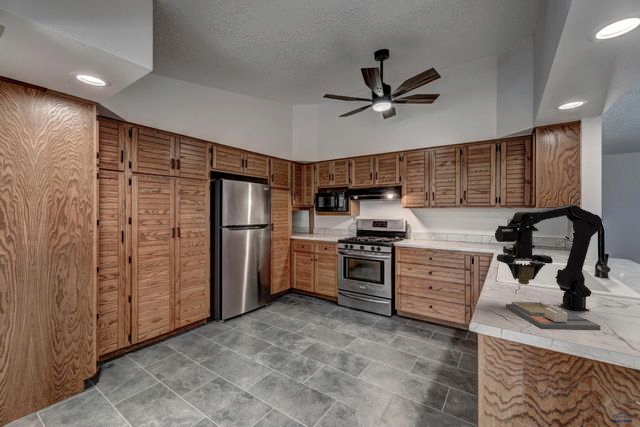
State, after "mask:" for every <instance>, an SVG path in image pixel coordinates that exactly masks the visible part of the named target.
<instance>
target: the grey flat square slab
mask: <svg viewBox="0 0 640 427" xmlns="http://www.w3.org/2000/svg"><path fill="white" fill-rule="evenodd" d="M505 304H506V305H505V307H506V309H508V310H509V311H512V312H513V313H515V314H517V315H518V316H520V317H522V318H523V319H525V320H527V321H528V322H530V323H532V324H534V325H536V327H539V328H540V329H547V330H548V329H550V330H551V329H552V330H553V329H554V330H555V329H556V330H590V331H591V330H592V331H593V330H596V331H600V330H601V325H600V324H598V323H596V322H594V321H591V320H589V319H588V318H585V317H583V316H580V315H578V314H576V313H574V312H571V311H569V310H567V309H564V308H562V307H560V306H558V305H556V304H552V305H553V306H555V307H558V308H560V309H562V310H563V311H564V312H566V313H567V322H555V321H553V320H551V319H549V318H547V317H545V316H532V315H530V314H528V313H526V312H524V311H522V310H520V309H519V308H517V307H515V306H513V305H511V304H512V303H505Z"/></svg>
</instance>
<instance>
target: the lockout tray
mask: <svg viewBox="0 0 640 427" xmlns="http://www.w3.org/2000/svg"><path fill="white" fill-rule="evenodd" d="M510 304H511V305H513V306H515V307H517V308H519V309H520V310H522V311H524V312H526V313H528V314H530V315H532V316H544V308H548V305H549V304H546V303H543V302H542V301H511V303H510Z"/></svg>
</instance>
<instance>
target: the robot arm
mask: <svg viewBox="0 0 640 427" xmlns="http://www.w3.org/2000/svg"><path fill="white" fill-rule="evenodd" d="M561 217H566V219H568V221H570V222H572V229H573V232H574V236H573V237H574V238H573V241H572V244H571V247H570V251H569V255H568V259H567V261H566V265H565V267H564V268H562V269H558V270H557V273H556V276H555V279H556V280H555V281H556V284H557V285H558V287H559V289H560V291H562V292H563V296H562V303H560V306H562V307H564V308H566V309H568V310H571V311H576V312H577V311H580V312H581V311H582V312H589V311H590V309H589V308H586V307H587V297H591V295H592V290H591V289H590V288H588V287H587V285H586V284H585V282H586V277H585V275H584V273H583V269H584V265H585V261H586V257H587V255H588V250H589V246H590V244H591V240H592V237H593V236H594V235H596V234H597V233H598V232H599V230H600V228H601V226H602V224H603V219H602V218H601V217H600V216H599V214H597V213H596V214H595V213H593V212H591V211H588V210H585V209H583V208H581V207H579V206H578V205H576V204H564V205H561V206H555V207H552V208H547V209H542V210H536V211H516V212H515V213H514V214H513V217H512V218H511V220H510V221H509V223H507V225H498V226H497V229H496V230H495V233H494V238H495V240H496V242H498V243H513V245H512V247H510V246H509V245H504V246H502V254H501V253H499V254H497V255H496V261H497V262H500V263H503V264H506V265H507V267H508V268H509V270H510V272H511V275H512V277H513V279H514V280H518V279H517V272H518V263H517V262H529V263H528V264H530V265H532V267H534V266H535V270H534V276H533V278H532V279H531V280H532V281H534V280H535V278H536V277H537V275H538V274H539V272H540V271H541V270H542V268H543V267H544V266H546V265H547V264H553V261H554V259H553V258H552V256H550V255H546V254H534V252H533V249H535V248H536V246H535V245H534V243H533V240H534V239H533V233H534V232H539V228H536V227H535V225H537V224H539V223H540V222H543V221H544V220H545V221H546V220H550V219H556V218H561Z"/></svg>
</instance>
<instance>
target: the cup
mask: <svg viewBox="0 0 640 427" xmlns="http://www.w3.org/2000/svg"><path fill="white" fill-rule="evenodd" d="M517 264H518V272H517V279H516V280H517V281H518V283H519V284H520V285H527V286H528V285H529V284H530V281H531V280H532V278H533V276H534V270H535V266H534V267H532V265H530V263H527V264H526V263H522V262H518V263H517Z"/></svg>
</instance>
